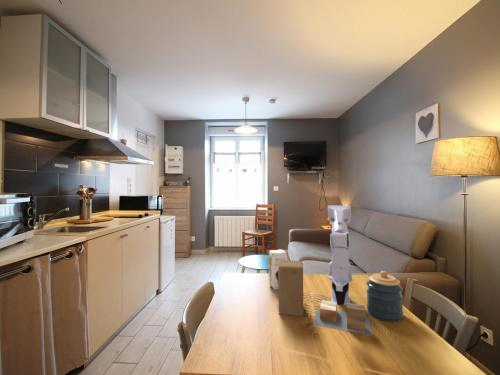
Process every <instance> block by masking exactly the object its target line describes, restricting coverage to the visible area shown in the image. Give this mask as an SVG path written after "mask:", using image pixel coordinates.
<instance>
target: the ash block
mask: <svg viewBox="0 0 500 375" xmlns="http://www.w3.org/2000/svg"><path fill="white" fill-rule="evenodd" d="M320 302H321V303H320V307H319V308H320V319H324V320H329V321H334V322H336V316H337V311H338V304H337V302H332V301H331V300H324V299H321V301H320Z"/></svg>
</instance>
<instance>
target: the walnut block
mask: <svg viewBox="0 0 500 375" xmlns="http://www.w3.org/2000/svg"><path fill="white" fill-rule="evenodd" d="M346 313H347V330H351V331H356V332H361V333H366V332H365V316H366V306H365V305H364V304H363V305H362V304H358V303H351V302H350V303H347V305H346Z"/></svg>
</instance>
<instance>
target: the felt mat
mask: <svg viewBox="0 0 500 375" xmlns="http://www.w3.org/2000/svg"><path fill="white" fill-rule="evenodd" d="M312 325H314V326H320V327H324V328H329V329H334V330H338V331H343V332H347V333H354V334H357V335H358V334H359V335H363V336H368V337H373V333H372V328H371V320H370V316H368V315H365V332H366V333H361V332H356V331H351V330H347V311H339V310H337V316H336V322H334V321H329V320H324V319H320V307H317V308H316V310H315V315H314V319H313V322H312Z"/></svg>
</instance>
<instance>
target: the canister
mask: <svg viewBox="0 0 500 375" xmlns="http://www.w3.org/2000/svg"><path fill="white" fill-rule="evenodd" d="M400 284H401V281H400V280H399V279H398V278H396V277H395V276H393V275H391V274H388V273H387V271H385V270H381V271H380V272H379V273H372V274H371V275H369V276H368V280H367V281H366V286H367V289H366V309H367V313H368V314H369V315H370V316H372V318H375V319H377V320H380V321H384V322H387V323H388V322H389V323H390V322H391V323H397V322H401V321H402V320H403V318H404V309H403V304H404V303H403V300H404V297H403V295H402V292H403V287H402V286H401V285H400Z"/></svg>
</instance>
